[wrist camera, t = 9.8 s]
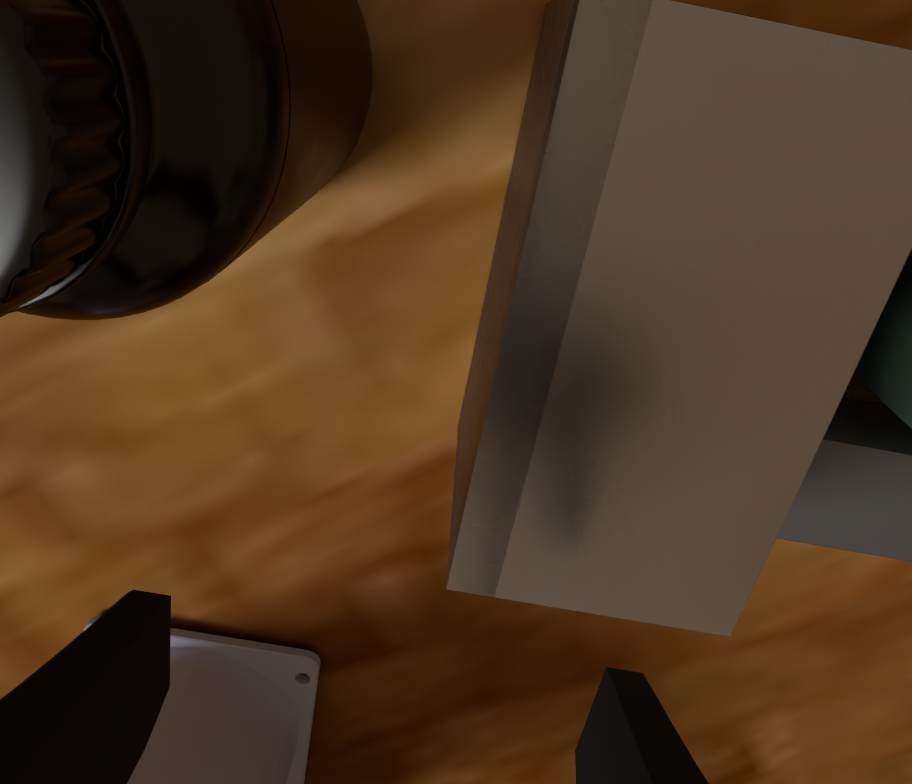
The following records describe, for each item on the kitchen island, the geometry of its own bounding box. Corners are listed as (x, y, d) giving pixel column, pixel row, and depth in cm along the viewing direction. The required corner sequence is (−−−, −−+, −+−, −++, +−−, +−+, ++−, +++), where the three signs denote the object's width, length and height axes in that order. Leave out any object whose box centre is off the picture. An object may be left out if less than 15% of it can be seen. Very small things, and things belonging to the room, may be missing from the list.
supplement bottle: (325, -151, 15) (-62, -605, 4) (408, 175, 18) (294, 376, 7) (32, -62, 16) (-872, -262, 5) (155, 235, 19) (-276, 493, 8)
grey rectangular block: (658, 460, 21) (729, 636, 15) (458, 425, 21) (446, 589, 15) (803, 56, 17) (995, 68, 10) (546, 3, 16) (583, -18, 10)
